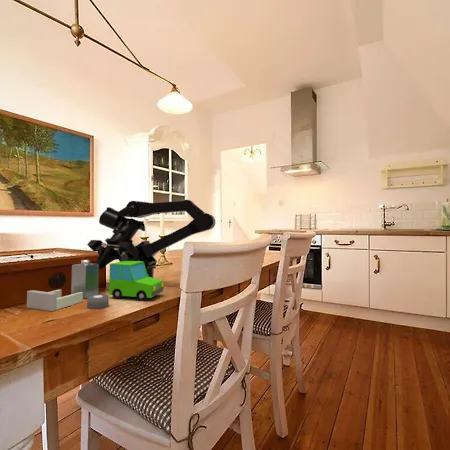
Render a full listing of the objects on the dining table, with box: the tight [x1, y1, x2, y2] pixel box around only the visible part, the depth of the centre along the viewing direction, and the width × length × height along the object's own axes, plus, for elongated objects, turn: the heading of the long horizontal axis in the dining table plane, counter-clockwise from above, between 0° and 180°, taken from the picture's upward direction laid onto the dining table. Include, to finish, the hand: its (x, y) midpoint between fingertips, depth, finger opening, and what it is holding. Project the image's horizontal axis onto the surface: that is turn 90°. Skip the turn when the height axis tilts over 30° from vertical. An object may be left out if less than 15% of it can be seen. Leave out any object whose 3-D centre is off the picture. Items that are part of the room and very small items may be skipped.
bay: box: [26, 289, 84, 312], centre depth 71 cm, size 9×8×4 cm
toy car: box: [108, 261, 165, 302], centre depth 81 cm, size 10×13×10 cm
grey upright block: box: [70, 259, 100, 299], centre depth 80 cm, size 5×5×10 cm
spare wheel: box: [86, 293, 110, 310], centre depth 70 cm, size 5×5×3 cm
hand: (96, 269), depth 85 cm, fingers closed
